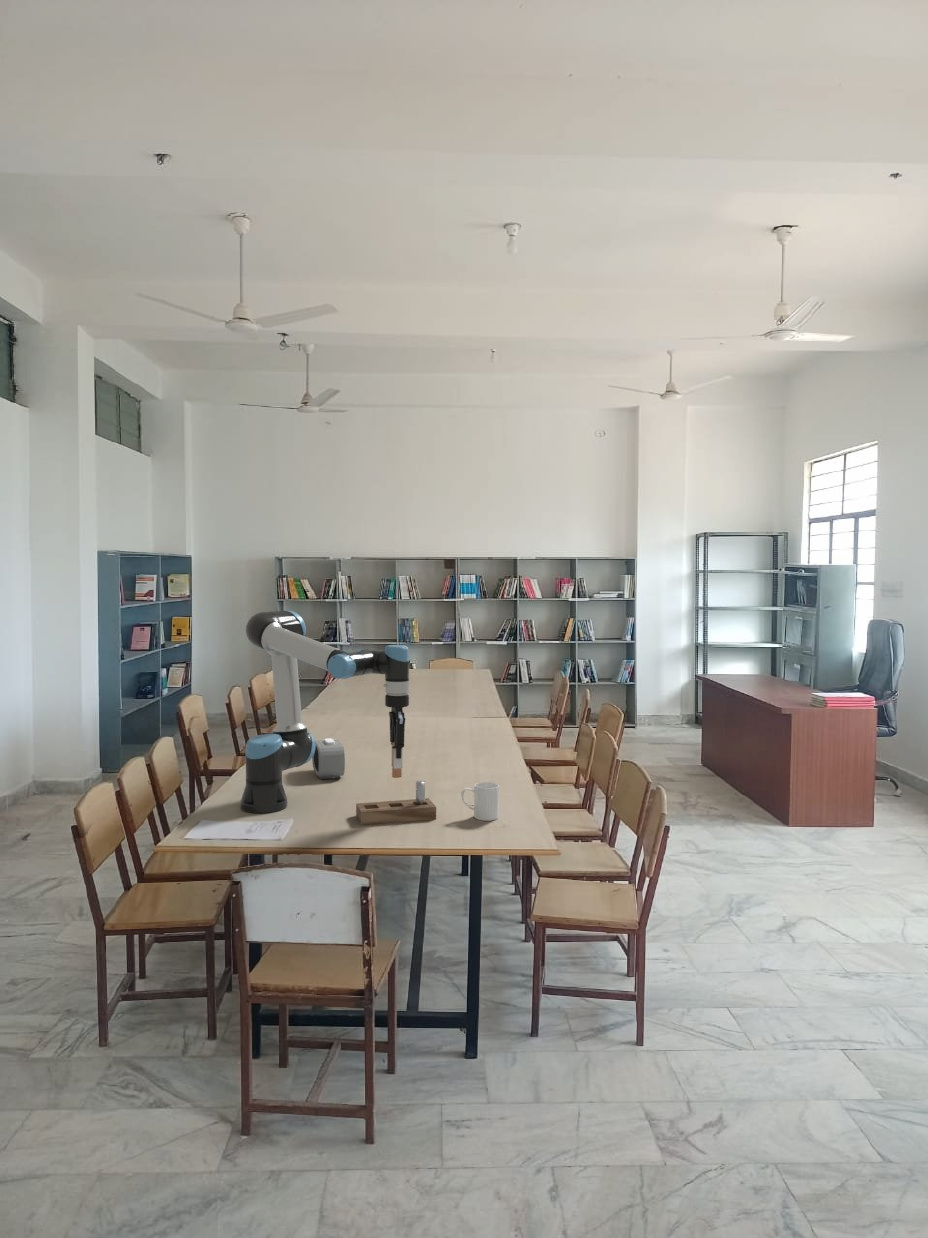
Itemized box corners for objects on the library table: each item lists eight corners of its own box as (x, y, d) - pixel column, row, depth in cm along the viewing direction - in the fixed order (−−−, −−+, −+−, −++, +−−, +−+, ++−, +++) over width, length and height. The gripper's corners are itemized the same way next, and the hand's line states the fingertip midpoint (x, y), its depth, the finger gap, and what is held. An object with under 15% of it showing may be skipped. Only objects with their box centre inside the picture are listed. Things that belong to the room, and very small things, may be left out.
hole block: (356, 815, 265) (356, 803, 265) (428, 810, 272) (428, 798, 272) (361, 825, 255) (361, 812, 255) (436, 819, 262) (436, 806, 262)
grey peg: (414, 814, 267) (414, 781, 266) (423, 813, 268) (423, 780, 267) (416, 817, 264) (417, 783, 263) (425, 816, 265) (426, 782, 264)
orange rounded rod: (391, 775, 264) (391, 742, 263) (400, 775, 265) (400, 741, 264) (393, 778, 261) (393, 743, 260) (402, 777, 262) (402, 743, 261)
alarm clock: (311, 769, 325) (311, 735, 324) (335, 767, 328) (335, 734, 327) (319, 782, 306) (319, 746, 305) (344, 780, 309) (344, 745, 308)
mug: (494, 813, 270) (495, 781, 269) (501, 820, 262) (501, 788, 261) (458, 815, 267) (459, 783, 266) (464, 822, 259) (464, 789, 259)
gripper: (380, 690, 268) (380, 762, 269) (390, 697, 253) (390, 773, 254) (403, 690, 270) (403, 761, 271) (414, 697, 255) (413, 772, 256)
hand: (396, 766), depth 263 cm, fingers closed on orange rounded rod, 2 cm apart
